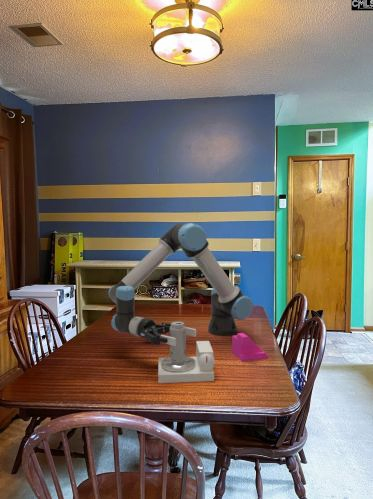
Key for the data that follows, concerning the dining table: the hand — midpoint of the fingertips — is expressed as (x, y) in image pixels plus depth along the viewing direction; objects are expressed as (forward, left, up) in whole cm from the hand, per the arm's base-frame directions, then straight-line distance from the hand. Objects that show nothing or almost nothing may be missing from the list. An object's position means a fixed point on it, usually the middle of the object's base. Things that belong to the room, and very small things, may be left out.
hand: (185, 337), depth 130 cm
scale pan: (+3, -2, -12) cm, 12 cm away
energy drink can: (+3, -2, -10) cm, 11 cm away
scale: (0, -2, -14) cm, 15 cm away
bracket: (-29, -17, -15) cm, 37 cm away
